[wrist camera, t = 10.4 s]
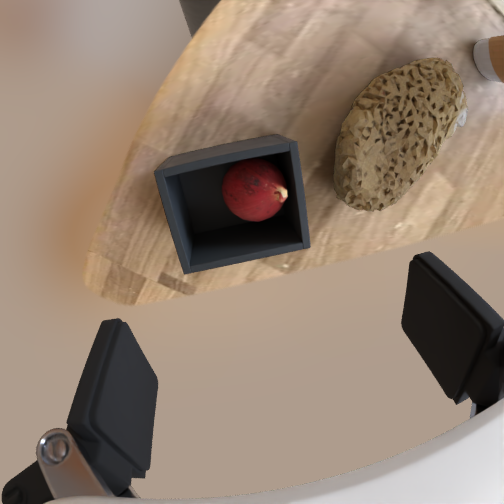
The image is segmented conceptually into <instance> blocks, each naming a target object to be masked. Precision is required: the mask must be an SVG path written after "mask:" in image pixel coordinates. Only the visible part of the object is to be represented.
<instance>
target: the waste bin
mask: <svg viewBox="0 0 504 504" xmlns="http://www.w3.org/2000/svg"><path fill="white" fill-rule="evenodd" d="M249 158H261V159H263V160H266V161H269V162H271V163H273V164H274V165H275V166H276V167H277V168H278V169H279V170H280V171H281V172H282V174H283V176H284V178H285V180H286V184H287V196H288V197H287V198H286V200H285V202H284V204H283V206H282V207H281V209H280V210H279V211H278V212H277V213H276V214H275V215H273V216H272V217H270V218H268V219H265V220H263V221H260V222H255V221H249V220H243V219H242V218H240V217H238V216H237V215H235V214H234V213H232V212H231V211H230V210H229V208H228V207H227V205H226V203H225V202H224V198H223V194H222V184H223V178H224V176H225V174H226V173H227V171H228V170H229V168H230V167H231V166H232V165H234V164H236V163H237V162H239V161H241V160H244V159H249ZM154 174H155V178H156V182H157V185H158V189H159V193H160V196H161V200H162V204H163V207H164V211H165V214H166V217H167V221H168V224H169V228H170V231H171V234H172V238H173V241H174V244H175V247H176V251H177V254H178V257H179V260H180V263H181V266H182V269H183V272H184V274H190V273H194V272H198V271H203V270H208V269H213V268H218V267H222V266H227V265H232V264H237V263H241V262H246V261H251V260H255V259H260V258H265V257H269V256H274V255H279V254H283V253H288V252H293V251H297V250H302V249H307V248H310V247H311V246H310V236H309V227H308V219H307V210H306V202H305V194H304V186H303V179H302V172H301V164H300V158H299V151H298V144H297V141H294V140H291V139H289V138H286V137H283V136H281V135H278V134H276V135H270V136H264V137H258V138H253V139H247V140H242V141H237V142H232V143H227V144H222V145H217V146H213V147H208V148H204V149H200V150H195V151H191V152H187V153H183V154H179V155H175V156H171V157H169V158H168V159H167V160H166V161H164V162H163V163H162V164H161V165H160V166H159V167H158V168H157V169H156V170H155V171H154Z"/></svg>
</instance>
